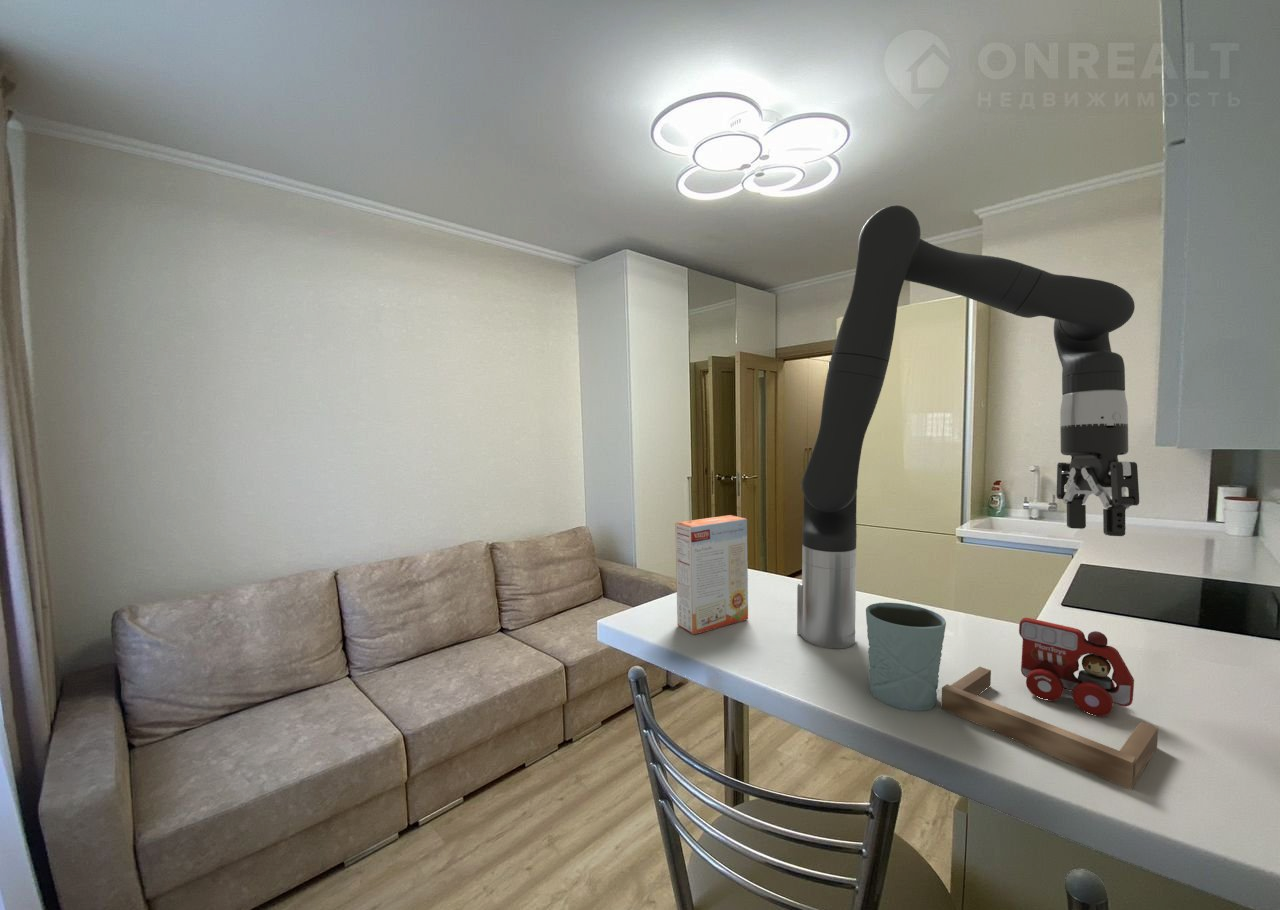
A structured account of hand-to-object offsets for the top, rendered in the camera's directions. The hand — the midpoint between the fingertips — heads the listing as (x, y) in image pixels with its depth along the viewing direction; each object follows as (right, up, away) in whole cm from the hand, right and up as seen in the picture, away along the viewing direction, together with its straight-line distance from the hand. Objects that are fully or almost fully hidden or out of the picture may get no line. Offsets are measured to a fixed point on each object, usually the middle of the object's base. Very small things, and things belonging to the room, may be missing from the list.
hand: (1094, 531), depth 75 cm
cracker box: (-53, -22, +25) cm, 63 cm away
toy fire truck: (-6, -24, -3) cm, 25 cm away
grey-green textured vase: (-29, -24, -2) cm, 38 cm away
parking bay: (-16, -24, -10) cm, 30 cm away
